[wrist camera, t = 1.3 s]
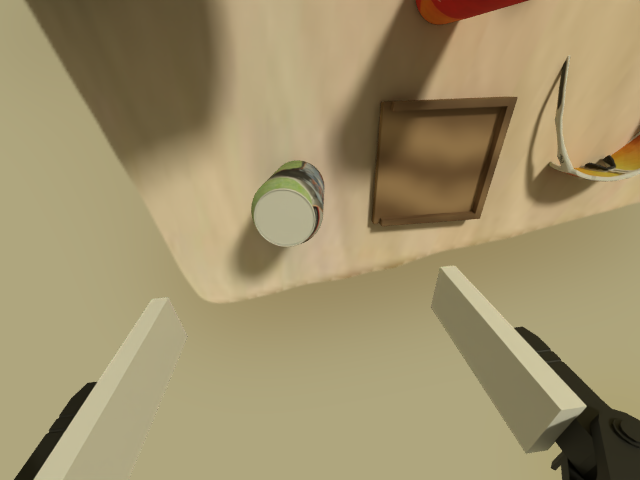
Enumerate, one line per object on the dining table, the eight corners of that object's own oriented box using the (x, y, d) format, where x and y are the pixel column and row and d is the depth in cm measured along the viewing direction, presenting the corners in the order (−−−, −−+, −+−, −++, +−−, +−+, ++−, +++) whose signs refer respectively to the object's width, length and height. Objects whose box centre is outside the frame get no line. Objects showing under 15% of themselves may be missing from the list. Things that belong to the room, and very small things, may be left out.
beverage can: (310, 214, 33) (320, 270, 23) (254, 193, 31) (237, 244, 21) (331, 168, 30) (353, 208, 20) (272, 142, 28) (262, 172, 18)
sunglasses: (536, 191, 35) (571, 199, 30) (530, 69, 29) (572, 57, 25) (646, 150, 34) (700, 153, 29) (661, 14, 28) (731, -9, 23)
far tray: (381, 101, 27) (386, 102, 26) (505, 96, 28) (517, 97, 27) (371, 220, 34) (375, 226, 33) (471, 213, 35) (479, 218, 34)
